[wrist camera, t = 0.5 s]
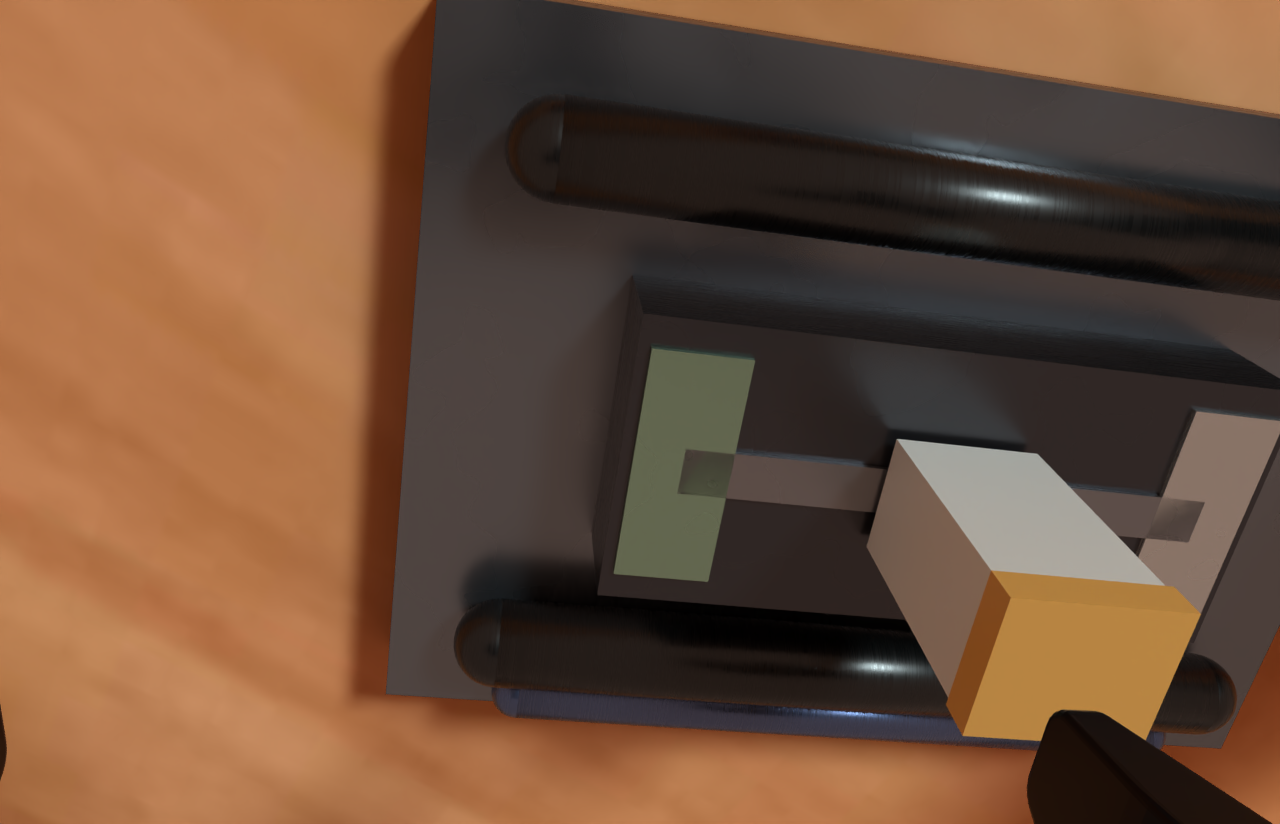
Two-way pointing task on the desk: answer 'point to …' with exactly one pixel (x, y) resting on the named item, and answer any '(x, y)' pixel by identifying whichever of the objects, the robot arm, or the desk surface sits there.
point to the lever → (1022, 593)
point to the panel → (574, 258)
